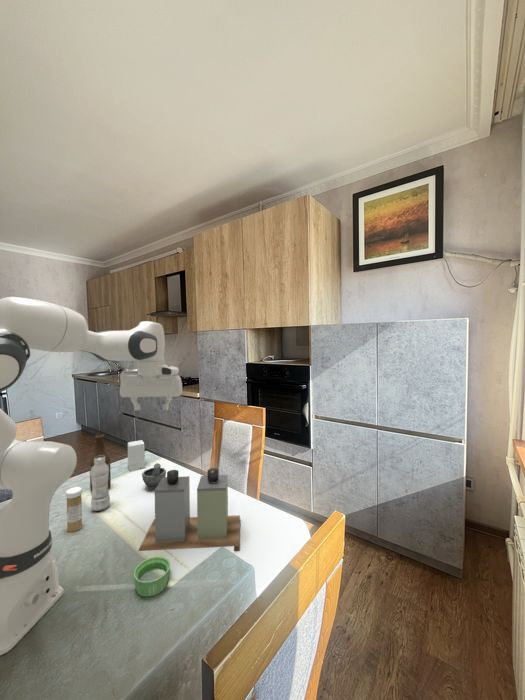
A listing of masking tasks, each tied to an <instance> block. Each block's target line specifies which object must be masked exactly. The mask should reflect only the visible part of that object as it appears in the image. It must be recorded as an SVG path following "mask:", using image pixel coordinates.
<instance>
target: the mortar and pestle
mask: <svg viewBox="0 0 525 700" xmlns="http://www.w3.org/2000/svg"><path fill="white" fill-rule="evenodd" d="M141 477H142V481H143V482H144V484H145V486H146V490H147V489H148V490H147V491H149V490H150V492H155V489H156V487H157V486H158V484H159V482H160V481H161V479H162V477H167V470H166V469H165V468H164V467H162V465H161V464H160V463H157V462H156V463H154V464H153V467H150V468H148V469H145V470H144V471H143V472H142V474H141Z"/></svg>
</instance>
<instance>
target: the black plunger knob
mask: <svg viewBox="0 0 525 700" xmlns="http://www.w3.org/2000/svg"><path fill="white" fill-rule="evenodd" d="M219 473H220V472H219V469H218V468H215V467H212V468H209V469H207V473H206V476H207V480H208V481H209V482H212V483H215V482H216V481H218V480H219V475H220V474H219Z"/></svg>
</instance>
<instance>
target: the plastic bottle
mask: <svg viewBox="0 0 525 700" xmlns="http://www.w3.org/2000/svg"><path fill="white" fill-rule="evenodd" d="M94 463H95V464H94V466H93V467H92V469H91V471H90V470H89V477H90V476H91V481H92V492H91V499H90V506H91V510H92V511H95V512H99V511H104V510H105V509H106V508H108V507H109V506H110V502H111V498H110V496H111V495H110V492H109V490H108V475H109V467H108V465H107V464H106V463H105V456H104V455H100V456H96V457H95V458H94Z"/></svg>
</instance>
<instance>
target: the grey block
mask: <svg viewBox="0 0 525 700" xmlns="http://www.w3.org/2000/svg"><path fill="white" fill-rule="evenodd" d="M190 493H191V492H190V476H179V481H178V482H177V483H174V484H172V485H171V484H168V483H167V476H165V477H162V479H161V481H160V482H159V484H158V486H157V487H156V489H155V491H154V519H155V542H170V541H185V538H186V535H187V531H188V528H189V525H190V517H191V510H190V509H191V508H190V506H191V505H190V504H191V501H190Z"/></svg>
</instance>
